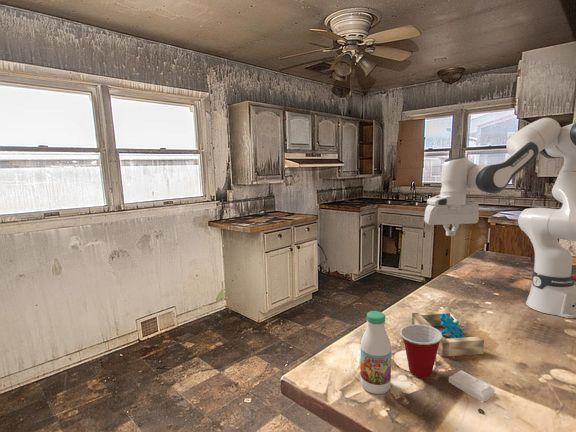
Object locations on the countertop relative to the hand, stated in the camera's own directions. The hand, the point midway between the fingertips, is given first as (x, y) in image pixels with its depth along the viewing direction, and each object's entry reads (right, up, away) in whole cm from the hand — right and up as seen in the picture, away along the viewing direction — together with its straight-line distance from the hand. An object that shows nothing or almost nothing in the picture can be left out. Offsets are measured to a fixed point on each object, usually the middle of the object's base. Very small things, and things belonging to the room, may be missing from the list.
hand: (450, 235), depth 125 cm
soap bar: (-16, -38, -42) cm, 58 cm away
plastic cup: (-26, -36, -34) cm, 56 cm away
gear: (-8, -33, -17) cm, 38 cm away
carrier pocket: (-11, -33, -18) cm, 39 cm away
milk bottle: (-40, -38, -39) cm, 67 cm away
